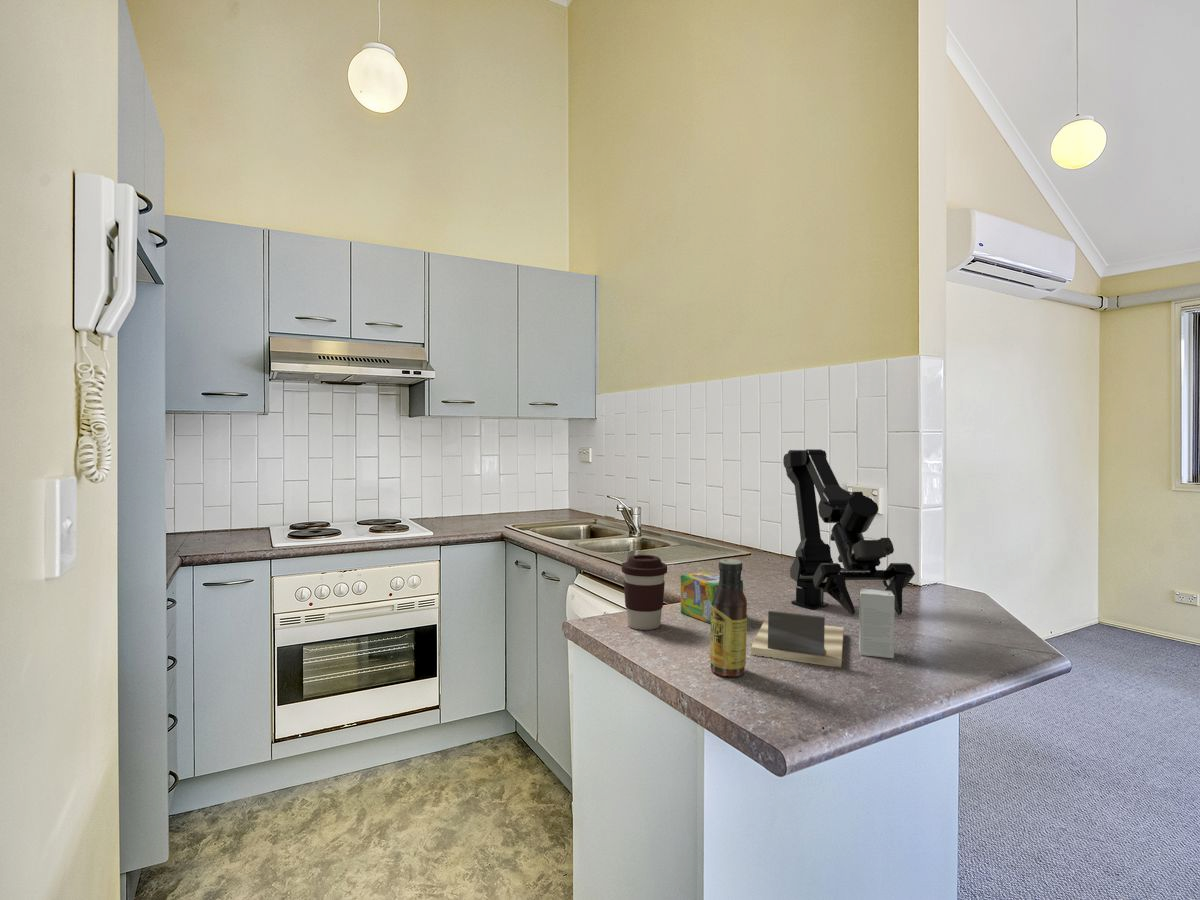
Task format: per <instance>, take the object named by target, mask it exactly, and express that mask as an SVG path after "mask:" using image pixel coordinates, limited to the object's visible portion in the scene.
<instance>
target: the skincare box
mask: <svg viewBox="0 0 1200 900" xmlns="http://www.w3.org/2000/svg"><path fill="white" fill-rule="evenodd" d="M885 590H886V589H884V590H882V589H872V588H871V589H870V588H869V589H868V588H859V589H858V595H859V596H858V651H859V654H860V656H867V657H877V658H886V659H894V658H895V612H896V611H895V607H894V603H895V596H894V595H893V593H892V591H885Z"/></svg>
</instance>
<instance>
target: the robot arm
mask: <svg viewBox="0 0 1200 900" xmlns="http://www.w3.org/2000/svg"><path fill="white" fill-rule="evenodd" d="M827 458H828V457H827V452H826V451H825V450H823V449H816V448H815V449H808V448H807V449H789V450H788V452H787V453H785V454H784V456H783V461H782V463H783V467H784V468H785V473H786V476H787V478H788V479H789V480H790V482H792V484H793V485H794V491H795V500H796V509H797V518H798V527H799V536H800V542H799V544H798V547H797V548H796V550H795V554H794V555H795V558H794V560H793V562H792V564H791V566H790V568H789V575H790V578H791V579H792V580H793V581H795V582H796V586H795V600H791V602H790V603H791V604H793V605H797V606H800V607H804V608H807V609H811V610H814V609H818V608H823V607H828V606H830V604H829V602H825V601H824V599H825V598H824V596H825V595H824V593H827V594H828V595H830V596H831V598H833V599H834V600H835V601H836V602H838V603H839V604H840V605H841V607H843V608H844V610H845V611H847V613H849V614H850V615H851V616H854V615H855V614H856V610H855V606H854V604H853V601H852V599H851V595H850V594H849V591H848V588H847V585H846V584H847V582H846V581H862V582H863V581H882V583H883V585H884V586H883V587H886V588H885V589H884V590H885V591H892V593H893V595H894V596H895V603H894V607H895V612H896V614H897V615H898V616H901V615H902V614H903V591H904V590H903V589H905V588H906V587H907V586H908V584H909V583H910V581H911V580H912V579H913V578H914V576H915V575H916V573H915V570H914V568H913V565H911V563H908V562H890V563H889V565H887V568H886V569H877V568H876V567H879V566H880V565H881V559H883V558H887V556H890V555H892V554H893V553H894V552H895V551H894V550H895V549H894V544H893V542H892V539H890V537H880V538H879V539H865V538H864V534H863V533H865V532H867V531H868V530H869V529H870V526H871V525H872V522H873V521H874V519H875V518H876V516H877V514H878V512H879V505H878V503H877V502H875V501H874V500H873V499H872V498H870V497H868V496H866V495H864V493H863V491H852V492H851V493H850V491H848V490H846V489H844V488H843V487H841V485H840V484H839V482H838V479H837V477H836V475H835V473H834V472H833V470H832V467H831V466H830V464H829V461H828V460H827ZM815 489H816V490H815ZM816 492H817V493H818V496H819V499H820V500H819V503H818V502H817V497H816V496H817V495H816ZM817 503H818V504H817ZM819 517H820V518H821V520H822V521H823V523H825V524H834V525H833V527H832V528H831V530H830V531H831V534H830V538H829V539H830V541H832V542H833V541H834V542H835V546H836V548H837V552H838V554H839V555H838V557H837V560H838V562H839V563H837V562H835V563H834V560H833V558H832V554H831V546H830V545H829V544H828V543H825V541H824V540H823V539H822V536H821V529H820V521H819ZM841 564H842V566H843V568H844V569H842V567H841Z"/></svg>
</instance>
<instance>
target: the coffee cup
mask: <svg viewBox="0 0 1200 900" xmlns="http://www.w3.org/2000/svg"><path fill="white" fill-rule="evenodd" d="M621 572H622V574H624V580H623V586H624V587H623V588H624V589H623V590H624V604H625V608H626V623H627V626H629V627H630V628H631V629H635V630H638V629H639V630H638V631H651V630H655V629H658V628H659V627H660V626H661V624H662V610H663V607H664V596H665V586H666V585H665V575H666V574H667V573H668V564H666V563H664V562H662V560H661V558H660V557H659V556H657V555H653V554H635V555H631V556H629V557H628V559H627V561H625V562H623V563H622V564H621Z"/></svg>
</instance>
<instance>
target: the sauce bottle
mask: <svg viewBox="0 0 1200 900" xmlns="http://www.w3.org/2000/svg"><path fill="white" fill-rule="evenodd" d="M718 570H719V573H718V574H719V585H718V587H717V590H716V593H715V596H714V598H713V601H712V604H711V624H710V639H709V662H710V670H711V671H712V672H713V674H716V675H718V676H720V677H726V676H728V678H729V677H730V678H732V677H733V678H735V677H740V676H743V675H744V673H745V669H746V668H745V666H746V662H747V661H746V659H747V635H748V634H747V631H748V615H747V614H748V612H747V610H748V608H747V607H748V600H747V598H746V595H745V593H744V590H743V591H742V590H741V588H740V587H741V580H742V571H743V562H742V561H741V560H739V559H734V558H722V559H720V560H719V561H718Z"/></svg>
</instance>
